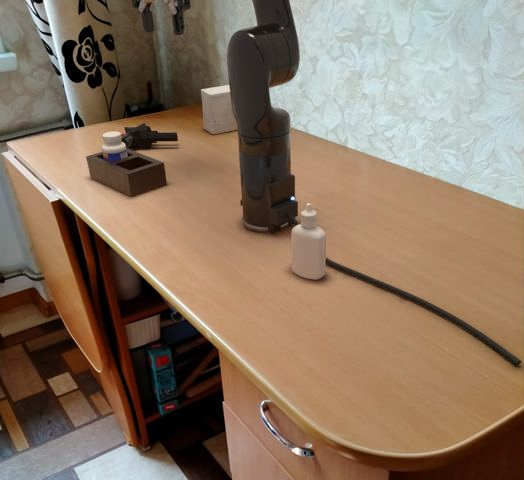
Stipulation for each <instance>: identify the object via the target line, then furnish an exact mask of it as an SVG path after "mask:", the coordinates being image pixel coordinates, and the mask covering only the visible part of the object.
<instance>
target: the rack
mask: <svg viewBox="0 0 524 480" xmlns="http://www.w3.org/2000/svg"><path fill="white" fill-rule="evenodd" d="M126 149H127V155H128V157H126V158H123V159H120V160H117V161H113V162H108V161H106V160H104V157H103V153H102V151H100V152H96V153H93V154H89V155H87V156H85V159H86V163H87V168H88V171H89V172H88V173H89V177H90V179H92V180H95V181H96V182H99V183H101V184H103V185H105V186H107V187H109V188H111V189H114V190H115V191H118V192H120V193H122V194H124V195H126V196H128V197H131V198H133V197H137V196H139V195H142V194H145V193H147V192H150V191H152V190H156V189H159V188H161V187H164V186H167V185H168V181H167V175H166V167H165V163H164V161H161V160H159V159H156V158H154V157H151V156H149V155H146V154H142V153H140V152H138V151H135V150H133V149H130V148H126Z"/></svg>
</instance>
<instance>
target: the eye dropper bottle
mask: <svg viewBox="0 0 524 480" xmlns="http://www.w3.org/2000/svg"><path fill="white" fill-rule="evenodd" d="M317 221H318V212H317V211H316V210H314V209H313V206H312V203H311V202H310V203H309V202H308V203H306V204H305V209H304V210H302V211H301V212H300V223H299V225H297V226H295V225H294V227H292V229H291V244H290V245H291V246H290V247H291V252H290V253H291V271H292V272H293V273H294V274H295V275H297V276H299V277H301V278H304V279H309V280H315V281H317V280H320V279H321V278H323V277H324V276H325V275H326V265H327V263H326V258H327V235H326V232H325V230H323V229H322V228H321V227H320V226H319V225H318V222H317Z"/></svg>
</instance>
